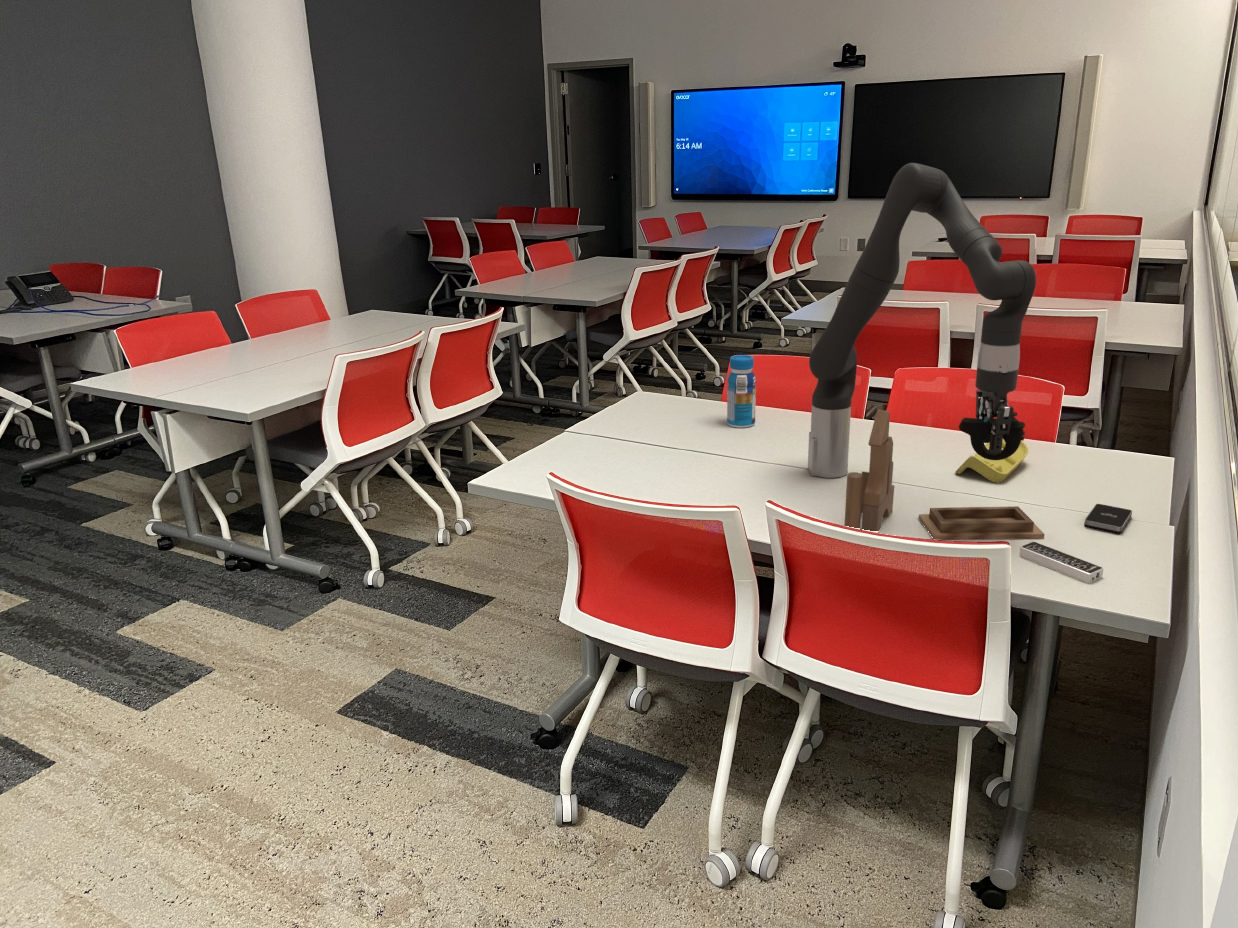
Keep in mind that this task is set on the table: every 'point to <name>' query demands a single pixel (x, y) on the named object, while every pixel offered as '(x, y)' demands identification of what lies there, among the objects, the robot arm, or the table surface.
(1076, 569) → the multiport hub
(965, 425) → the controller
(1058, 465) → the table surface
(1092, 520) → the external hard drive
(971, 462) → the plastic component
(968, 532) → the cradle
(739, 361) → the beverage bottle
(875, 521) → the wooden toy
